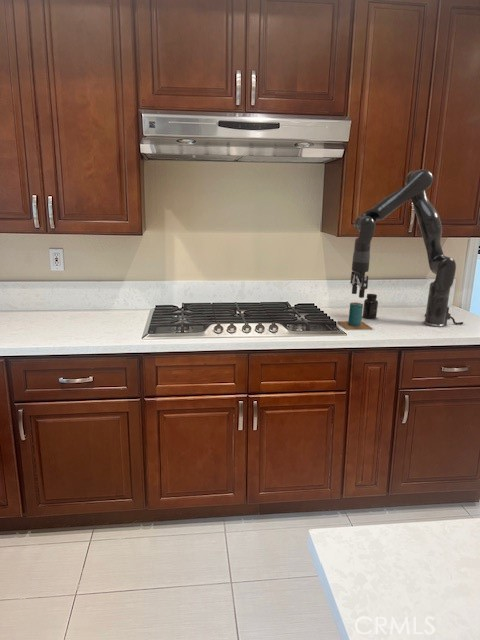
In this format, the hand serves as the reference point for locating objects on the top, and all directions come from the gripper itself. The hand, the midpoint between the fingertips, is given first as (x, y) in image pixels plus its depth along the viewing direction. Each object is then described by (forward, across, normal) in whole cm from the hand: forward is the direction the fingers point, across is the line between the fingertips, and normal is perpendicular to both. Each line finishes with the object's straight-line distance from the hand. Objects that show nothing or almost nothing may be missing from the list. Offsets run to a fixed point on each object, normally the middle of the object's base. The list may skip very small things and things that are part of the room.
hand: (357, 295), depth 216 cm
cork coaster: (+14, 0, 0) cm, 15 cm away
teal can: (+14, 0, 0) cm, 14 cm away
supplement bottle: (+15, +15, -14) cm, 25 cm away
